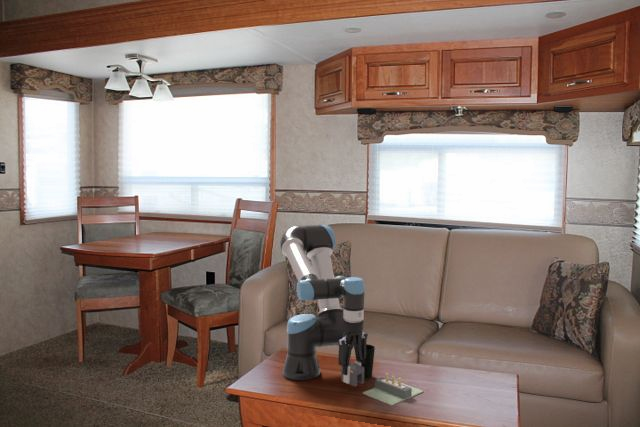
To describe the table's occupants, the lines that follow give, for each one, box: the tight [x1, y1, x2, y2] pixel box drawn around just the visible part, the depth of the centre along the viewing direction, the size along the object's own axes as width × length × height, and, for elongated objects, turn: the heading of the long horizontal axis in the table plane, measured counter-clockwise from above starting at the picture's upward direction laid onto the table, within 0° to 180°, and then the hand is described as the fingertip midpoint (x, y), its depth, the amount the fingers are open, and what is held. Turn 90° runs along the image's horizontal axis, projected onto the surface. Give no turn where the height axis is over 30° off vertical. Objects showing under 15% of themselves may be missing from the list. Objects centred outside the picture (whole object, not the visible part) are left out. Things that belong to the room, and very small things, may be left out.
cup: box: [362, 343, 376, 380], centre depth 216 cm, size 8×8×12 cm
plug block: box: [340, 361, 365, 387], centre depth 202 cm, size 7×5×6 cm
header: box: [362, 372, 424, 406], centre depth 200 cm, size 14×18×6 cm
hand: (352, 380), depth 202 cm, fingers closed on plug block, 5 cm apart
